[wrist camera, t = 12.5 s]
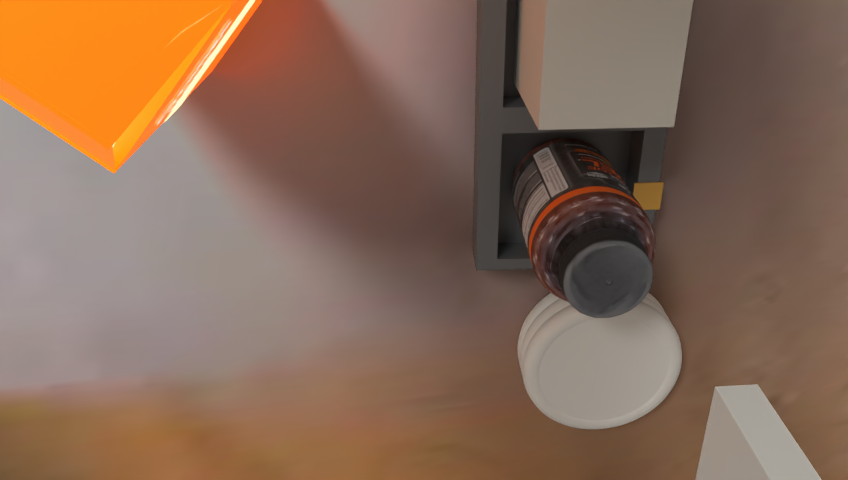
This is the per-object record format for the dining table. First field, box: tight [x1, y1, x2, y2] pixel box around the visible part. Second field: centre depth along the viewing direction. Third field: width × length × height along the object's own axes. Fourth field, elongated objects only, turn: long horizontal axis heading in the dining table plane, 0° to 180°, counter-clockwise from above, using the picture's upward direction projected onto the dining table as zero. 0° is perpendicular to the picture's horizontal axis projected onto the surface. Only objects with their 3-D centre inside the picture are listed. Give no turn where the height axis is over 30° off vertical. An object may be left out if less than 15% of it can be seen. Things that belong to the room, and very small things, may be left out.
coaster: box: [517, 292, 682, 429], centre depth 46 cm, size 10×10×4 cm
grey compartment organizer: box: [473, 0, 693, 270], centre depth 36 cm, size 18×10×8 cm, turn 1°
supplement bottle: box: [511, 138, 656, 318], centre depth 36 cm, size 6×6×11 cm
